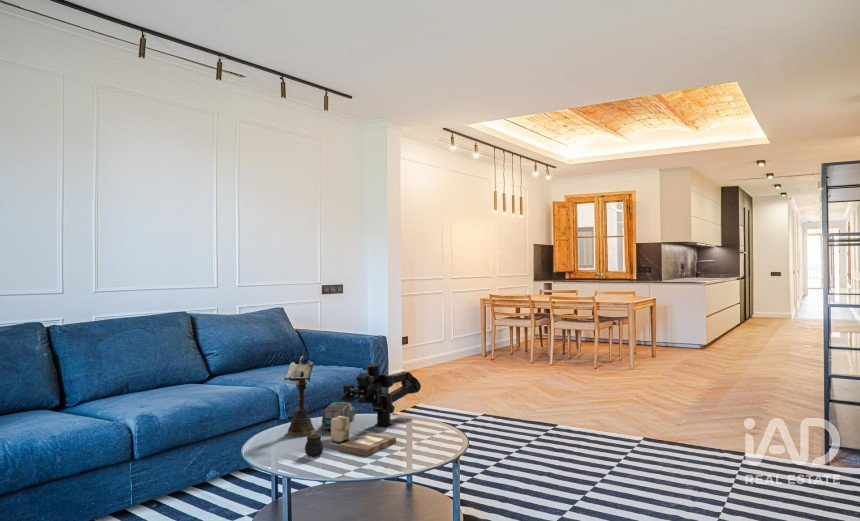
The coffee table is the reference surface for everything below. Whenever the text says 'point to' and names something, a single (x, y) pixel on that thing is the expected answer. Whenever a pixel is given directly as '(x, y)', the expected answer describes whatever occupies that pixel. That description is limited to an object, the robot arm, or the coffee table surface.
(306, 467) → the coffee table surface
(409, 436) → the coffee table surface
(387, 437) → the loading dock
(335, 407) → the toy van
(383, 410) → the robot arm
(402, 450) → the coffee table surface
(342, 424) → the tan rectangular block
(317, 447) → the mate gourd
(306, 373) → the book stand
